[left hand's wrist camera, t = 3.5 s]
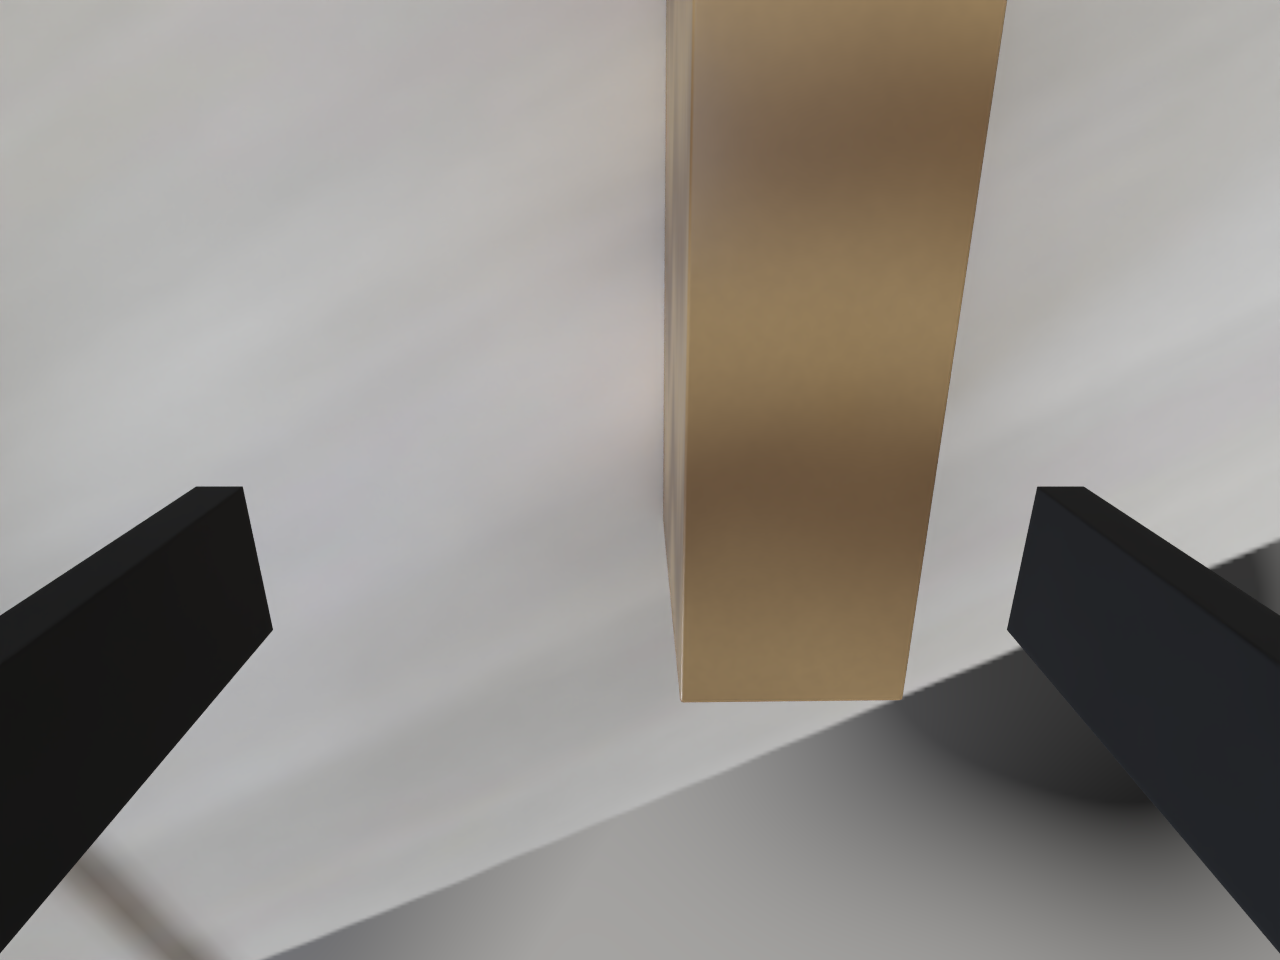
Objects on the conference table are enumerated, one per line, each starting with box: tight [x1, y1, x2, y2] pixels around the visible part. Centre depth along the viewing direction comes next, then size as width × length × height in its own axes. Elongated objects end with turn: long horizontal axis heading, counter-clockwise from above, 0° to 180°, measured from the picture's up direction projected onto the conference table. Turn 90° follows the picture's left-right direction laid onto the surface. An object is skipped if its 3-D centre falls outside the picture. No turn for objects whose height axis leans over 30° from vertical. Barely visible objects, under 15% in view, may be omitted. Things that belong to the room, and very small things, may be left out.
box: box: [663, 0, 1007, 702], centre depth 22 cm, size 25×6×12 cm, turn 0°
